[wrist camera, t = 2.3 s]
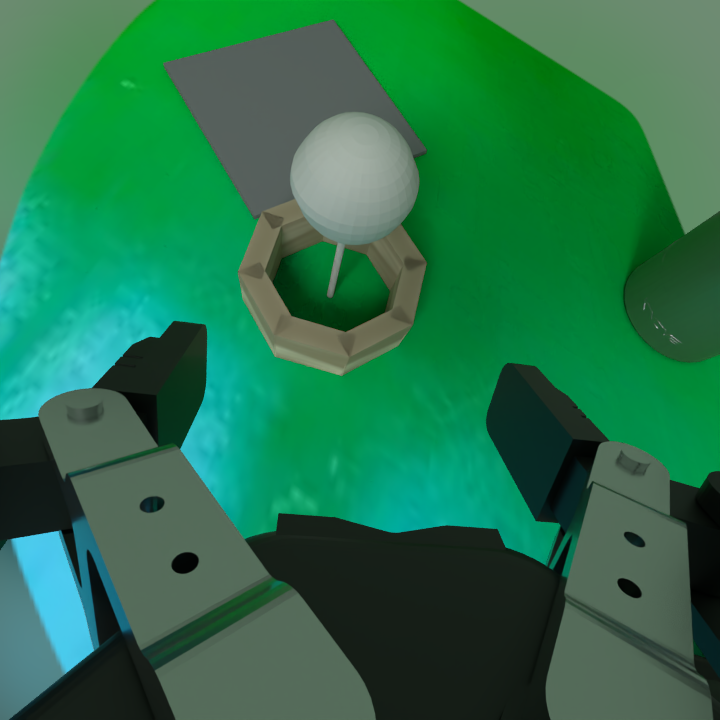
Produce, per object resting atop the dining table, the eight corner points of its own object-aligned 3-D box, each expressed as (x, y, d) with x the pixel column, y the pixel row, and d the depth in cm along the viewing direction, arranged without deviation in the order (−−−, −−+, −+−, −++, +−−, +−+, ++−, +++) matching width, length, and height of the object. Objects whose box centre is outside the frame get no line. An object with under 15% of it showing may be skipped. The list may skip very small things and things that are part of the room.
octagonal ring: (357, 207, 36) (365, 171, 32) (435, 326, 33) (454, 303, 30) (221, 262, 32) (213, 229, 29) (298, 398, 30) (300, 382, 26)
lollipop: (355, 251, 34) (406, 72, 20) (383, 319, 33) (458, 177, 19) (276, 270, 33) (272, 89, 19) (302, 342, 31) (317, 205, 17)
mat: (332, 24, 42) (333, 19, 41) (425, 153, 38) (426, 150, 38) (164, 67, 37) (163, 63, 37) (254, 219, 34) (254, 216, 33)
